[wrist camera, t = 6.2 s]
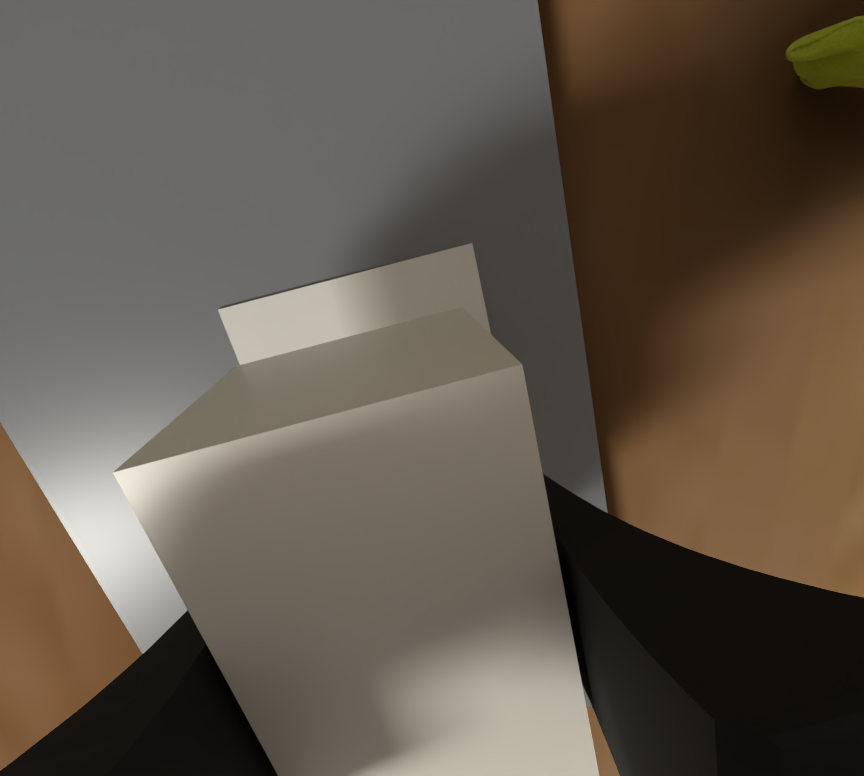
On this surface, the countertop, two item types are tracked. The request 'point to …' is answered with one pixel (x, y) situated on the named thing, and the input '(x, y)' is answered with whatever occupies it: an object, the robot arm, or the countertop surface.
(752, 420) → the countertop surface
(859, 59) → the bird rattle
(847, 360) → the countertop surface
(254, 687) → the cream brick
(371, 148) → the baseplate
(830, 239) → the countertop surface
